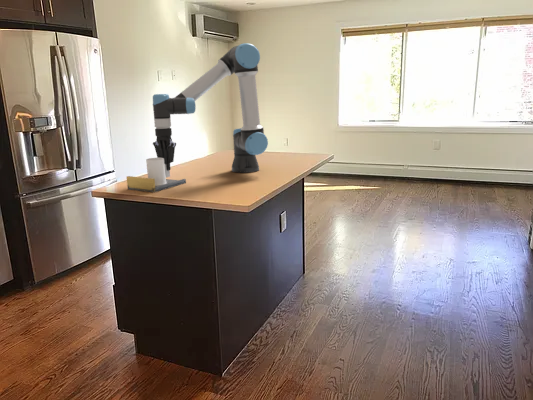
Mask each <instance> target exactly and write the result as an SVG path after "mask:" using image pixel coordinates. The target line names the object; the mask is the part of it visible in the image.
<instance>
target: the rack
mask: <svg viewBox="0 0 533 400" xmlns="http://www.w3.org/2000/svg"><path fill="white" fill-rule="evenodd" d="M166 182H167V184H164V185H160V186H155V179H153V178H148V177H142V176H133V175H132V176H131V175H128V176H126V186H127V190H129V191H130V190H131V191H137V192H149V193H157V192H160V191H163V190H167V189H169V188H174V187H177V186H180V185H183V184H186V183H187V179H186V178H182V179H171V178H166Z"/></svg>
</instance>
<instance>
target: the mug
mask: <svg viewBox="0 0 533 400" xmlns="http://www.w3.org/2000/svg"><path fill="white" fill-rule="evenodd" d="M145 160H146V161H145V163H146V169H147V170H146V171H147V178H153V179H155V186H160V185H164V184H167V182H166V179H167V177H166V175H165V164H164V158H157V157H150V158H146V159H145Z"/></svg>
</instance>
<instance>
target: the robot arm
mask: <svg viewBox="0 0 533 400" xmlns="http://www.w3.org/2000/svg"><path fill="white" fill-rule="evenodd" d="M260 59H261V55H260V51H259V49H258V48H257V47H256V46H255V45H254V44H252V43H250V42H249V43H246V42H244V43H241V44H238V45H235V46H233V47H231V48H230V49H229V50H228V51H227V52H226V53H225V54H224V55H223V56H222V57H220V58H219V59H218V61H217V63H216V64H215V65H214V66H212V67H211V68H209V70H207V71H206V72H205V73H204V74H203V75H201V76H200V77H199V78H197V79H196V80H195V81H194V82H192V83H191V84H190V85H189V86H187V87H186V88H184V90H182V91H181V92H180V93H179V94H177V95H176V96H175V97H170V95H169V93H157V94H156V93H155V94H153V95H152V109H153V120H154V127H155V129H154V131H155V135H154V136H155V137H156V140H155V141H154V142H152V145H153V146H154V149H155V153H156V158H164V164H165V175H166V178H170V177H171V163H173V162H174V161H175V149H176V146H177V143H176V142H174V141H173V138H172V136H173V133H172V128H171V126H172V122H171V115H192V114H195V112H196V108H197V107H196V101H197V100H199V98H201V97H202V96H204V94H206V93H207V92H208V91H210V90H211V89H212V88H213V87H215V86H216V85H217V84H218V83H220V82H221V81H222V80H223V79H224V78H226V77H227V76H229V77H230V76H231V75H233V74H234V75H235V76H237V79H238V89H239V97H240V106H241V107H240V108H241V115H242V116H241V117H242V127H241V128H235V129H233V131H232V137H233V138H232V139H233V152H234V153H233V155H234V157H233V161H232V165H231V172H233V173H242V174H243V173H254V172H258V171H260V165H259V162H258V160H257V159H258V158H257V157H256V156H259V155H261V154H263V153H264V152H265V151H266V150H267V148H268V146H269V141H268V138H267V136H266V134H265V130H264V126H263V125H262V124H261V121H260V112H259V110H260V109H259V101H258V89H257V79H256V78H257V77H256V75H257V74H258V72H259V69H258V68H259V67H258V65H259V63H260Z"/></svg>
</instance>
